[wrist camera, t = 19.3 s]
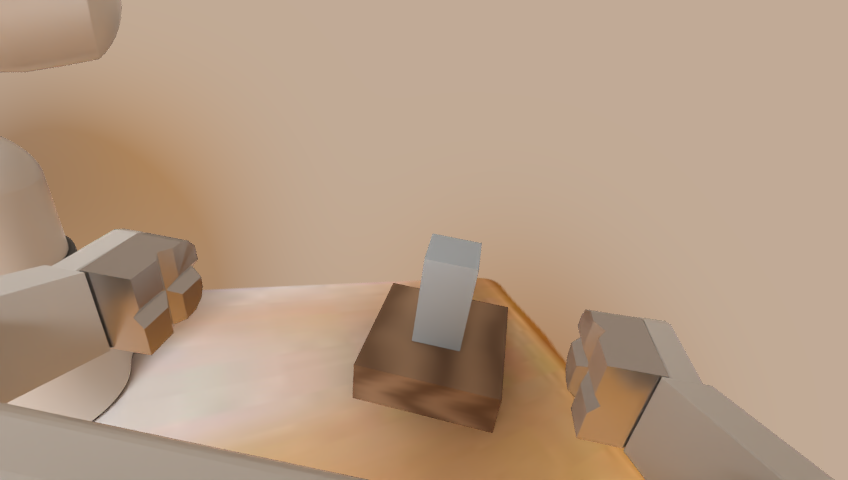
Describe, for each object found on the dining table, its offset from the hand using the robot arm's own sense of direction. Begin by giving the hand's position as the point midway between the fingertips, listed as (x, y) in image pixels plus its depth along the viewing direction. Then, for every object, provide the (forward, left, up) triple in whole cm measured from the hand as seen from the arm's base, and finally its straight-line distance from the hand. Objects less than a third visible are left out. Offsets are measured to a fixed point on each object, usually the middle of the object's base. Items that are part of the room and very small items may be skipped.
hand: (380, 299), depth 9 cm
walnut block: (-9, +27, -30) cm, 42 cm away
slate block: (-9, +27, -25) cm, 38 cm away
